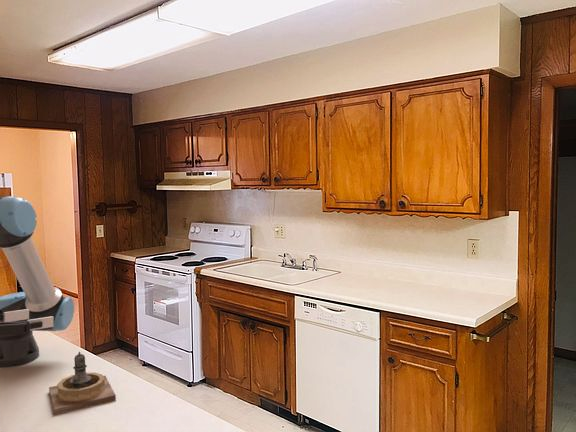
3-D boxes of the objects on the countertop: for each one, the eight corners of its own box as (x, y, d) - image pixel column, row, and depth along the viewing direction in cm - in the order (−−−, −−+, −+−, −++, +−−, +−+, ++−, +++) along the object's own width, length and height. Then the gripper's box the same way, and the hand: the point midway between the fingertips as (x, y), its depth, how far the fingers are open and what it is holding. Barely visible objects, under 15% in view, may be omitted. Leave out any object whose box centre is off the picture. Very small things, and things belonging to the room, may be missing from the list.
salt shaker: (83, 396, 138) (82, 355, 137) (65, 394, 139) (63, 354, 138) (96, 387, 144) (94, 348, 143) (78, 386, 145) (76, 347, 144)
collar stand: (49, 392, 144) (48, 377, 144) (105, 380, 152) (104, 366, 152) (54, 414, 131) (53, 398, 130) (115, 400, 139) (115, 385, 138)
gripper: (-68, 337, 124) (18, 323, 141) (-28, 357, 109) (63, 339, 126) (-67, 308, 124) (19, 298, 141) (-27, 324, 109) (64, 310, 126)
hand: (40, 317), depth 133 cm, fingers open, 13 cm apart
